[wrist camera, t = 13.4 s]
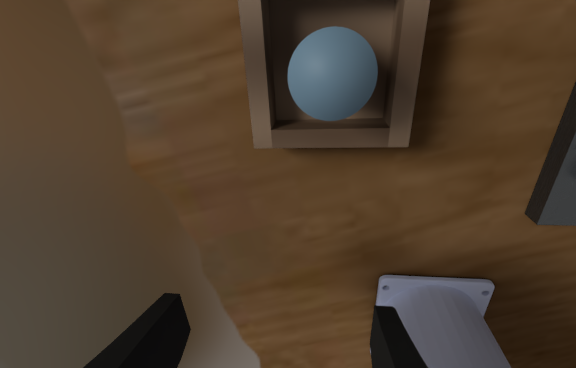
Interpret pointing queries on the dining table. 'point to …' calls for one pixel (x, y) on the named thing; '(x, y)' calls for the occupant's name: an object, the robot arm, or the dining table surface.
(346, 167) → the dining table surface
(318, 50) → the blue rounded cylinder
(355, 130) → the stylus holder
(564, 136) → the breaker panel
